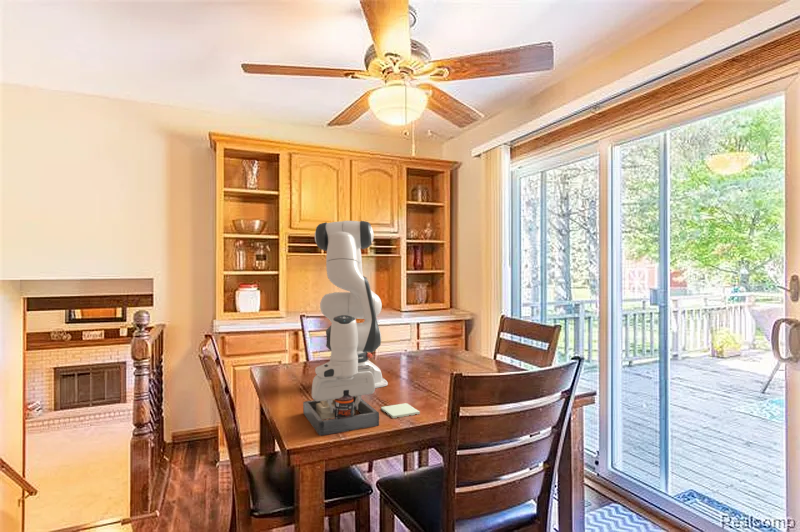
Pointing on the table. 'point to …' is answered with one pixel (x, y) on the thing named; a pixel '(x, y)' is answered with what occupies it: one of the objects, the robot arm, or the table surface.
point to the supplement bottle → (344, 405)
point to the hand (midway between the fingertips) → (344, 410)
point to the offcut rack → (341, 419)
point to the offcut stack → (325, 410)
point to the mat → (400, 410)
